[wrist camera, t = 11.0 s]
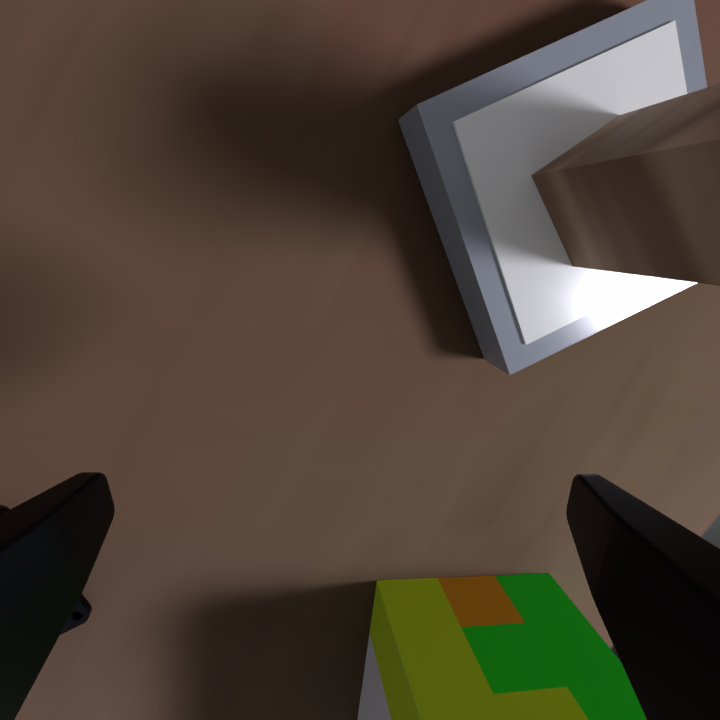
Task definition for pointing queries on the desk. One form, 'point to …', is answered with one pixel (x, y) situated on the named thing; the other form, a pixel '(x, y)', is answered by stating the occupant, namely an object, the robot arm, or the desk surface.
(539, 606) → the puzzle toy
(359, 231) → the desk surface
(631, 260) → the beige rectangular block
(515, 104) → the plinth
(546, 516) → the desk surface
